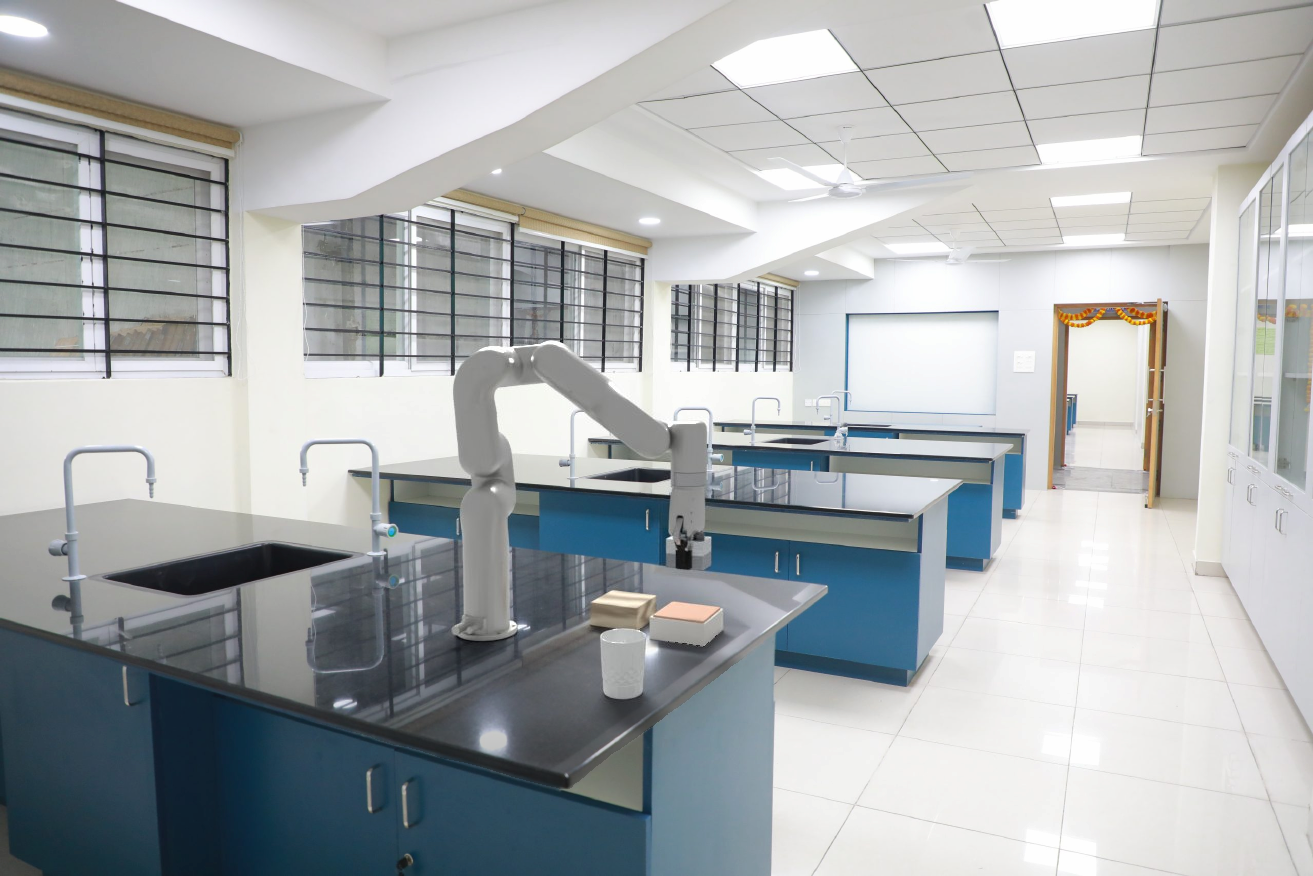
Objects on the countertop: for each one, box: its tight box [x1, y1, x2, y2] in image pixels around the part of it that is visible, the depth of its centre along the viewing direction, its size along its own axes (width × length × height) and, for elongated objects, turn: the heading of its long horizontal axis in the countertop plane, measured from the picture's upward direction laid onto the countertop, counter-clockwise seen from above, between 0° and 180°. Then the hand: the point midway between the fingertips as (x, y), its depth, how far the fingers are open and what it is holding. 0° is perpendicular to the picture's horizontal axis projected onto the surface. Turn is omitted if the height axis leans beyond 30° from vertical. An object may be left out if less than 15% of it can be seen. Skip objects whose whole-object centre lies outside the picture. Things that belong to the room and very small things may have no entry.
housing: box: [665, 531, 712, 572], centre depth 174 cm, size 8×6×7 cm
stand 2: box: [649, 600, 724, 647], centre depth 176 cm, size 12×12×5 cm
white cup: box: [599, 628, 647, 700], centre depth 144 cm, size 8×8×10 cm
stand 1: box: [589, 590, 658, 631], centre depth 184 cm, size 11×11×5 cm
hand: (688, 565), depth 175 cm, fingers closed on housing, 5 cm apart
